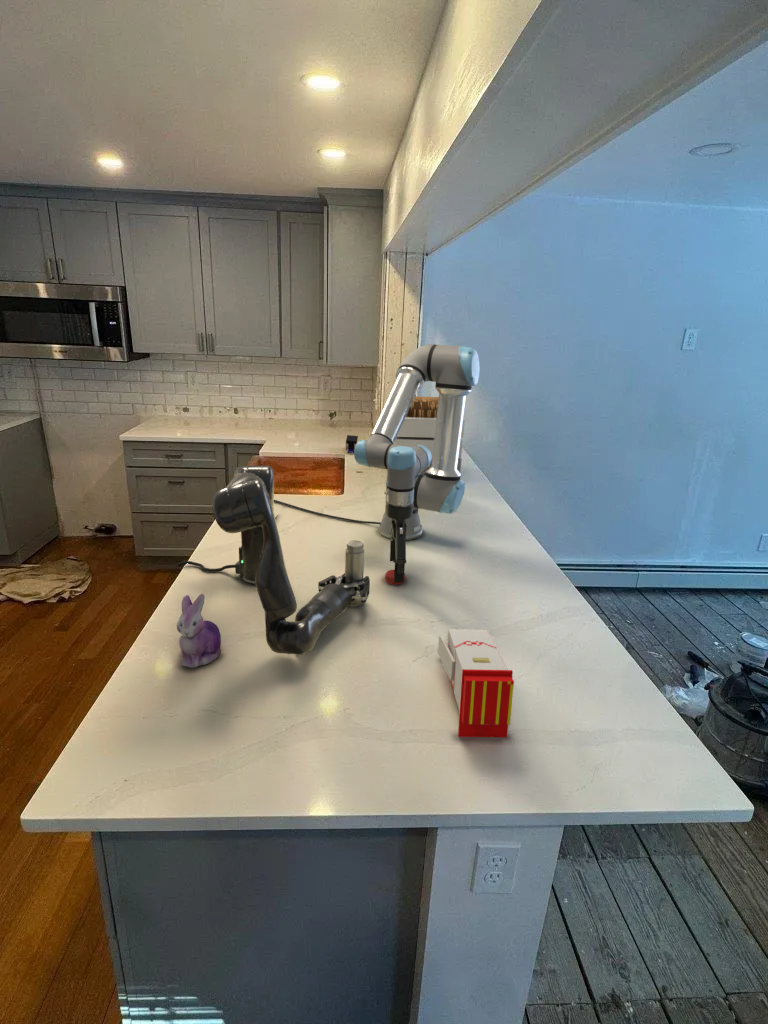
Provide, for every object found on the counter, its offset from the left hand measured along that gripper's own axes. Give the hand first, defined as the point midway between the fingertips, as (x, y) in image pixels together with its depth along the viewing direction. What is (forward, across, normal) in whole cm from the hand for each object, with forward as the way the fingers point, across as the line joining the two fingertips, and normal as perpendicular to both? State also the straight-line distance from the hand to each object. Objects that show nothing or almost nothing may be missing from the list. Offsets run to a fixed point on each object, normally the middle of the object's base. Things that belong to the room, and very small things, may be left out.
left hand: (358, 577), depth 153 cm
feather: (+40, +53, +6) cm, 66 cm away
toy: (-26, -39, +6) cm, 47 cm away
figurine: (-41, +19, +6) cm, 45 cm away
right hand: (+15, -5, +4) cm, 17 cm away
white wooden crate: (+126, +28, +6) cm, 130 cm away
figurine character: (+148, +76, +6) cm, 166 cm away
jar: (-3, 0, +6) cm, 7 cm away
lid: (+15, -5, +4) cm, 16 cm away
